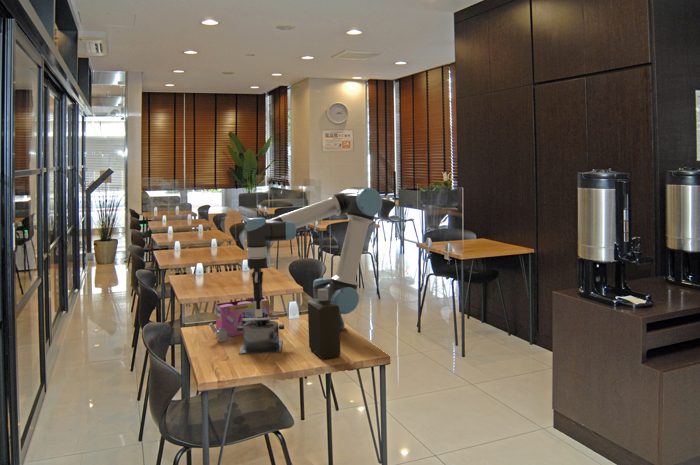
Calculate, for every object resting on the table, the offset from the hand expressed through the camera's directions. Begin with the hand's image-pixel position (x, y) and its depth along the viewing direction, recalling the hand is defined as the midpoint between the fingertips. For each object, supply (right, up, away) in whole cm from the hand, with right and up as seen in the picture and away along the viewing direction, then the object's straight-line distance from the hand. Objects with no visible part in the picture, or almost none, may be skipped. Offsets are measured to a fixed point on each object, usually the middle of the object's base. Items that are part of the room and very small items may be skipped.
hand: (258, 316), depth 218 cm
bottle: (+26, -14, -4) cm, 30 cm away
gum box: (-11, -11, +28) cm, 32 cm away
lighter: (-19, -13, +15) cm, 27 cm away
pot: (0, -13, +5) cm, 14 cm away
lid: (0, -2, +4) cm, 5 cm away
